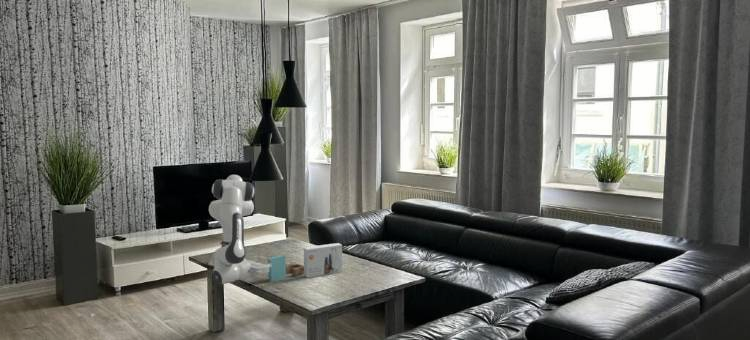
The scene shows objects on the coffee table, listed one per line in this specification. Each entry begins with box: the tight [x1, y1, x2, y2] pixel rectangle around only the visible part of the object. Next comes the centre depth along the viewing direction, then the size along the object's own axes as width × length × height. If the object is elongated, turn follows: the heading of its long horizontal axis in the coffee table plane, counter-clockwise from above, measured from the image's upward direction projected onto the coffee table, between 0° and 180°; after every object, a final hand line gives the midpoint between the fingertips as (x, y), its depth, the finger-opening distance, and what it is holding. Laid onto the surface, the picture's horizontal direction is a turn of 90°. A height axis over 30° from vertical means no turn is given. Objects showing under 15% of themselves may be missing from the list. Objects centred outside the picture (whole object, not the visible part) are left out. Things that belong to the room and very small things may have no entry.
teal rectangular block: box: [267, 254, 287, 283], centre depth 310 cm, size 10×2×12 cm, turn 140°
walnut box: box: [286, 262, 304, 277], centre depth 321 cm, size 8×11×4 cm
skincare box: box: [302, 242, 343, 279], centre depth 317 cm, size 21×5×16 cm, turn 117°
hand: (264, 263), depth 305 cm, fingers open, 8 cm apart
